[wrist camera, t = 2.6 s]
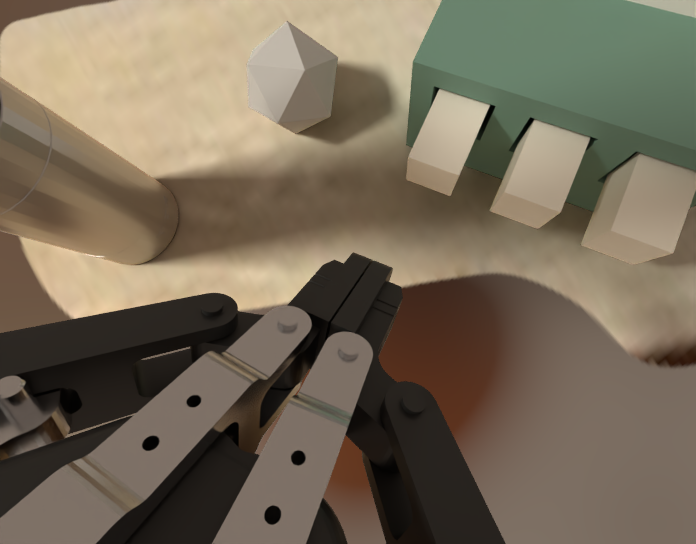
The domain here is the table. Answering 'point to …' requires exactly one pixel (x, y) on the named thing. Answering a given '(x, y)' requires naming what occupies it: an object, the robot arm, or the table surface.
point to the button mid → (540, 174)
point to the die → (291, 79)
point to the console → (567, 79)
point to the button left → (445, 141)
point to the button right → (641, 210)
